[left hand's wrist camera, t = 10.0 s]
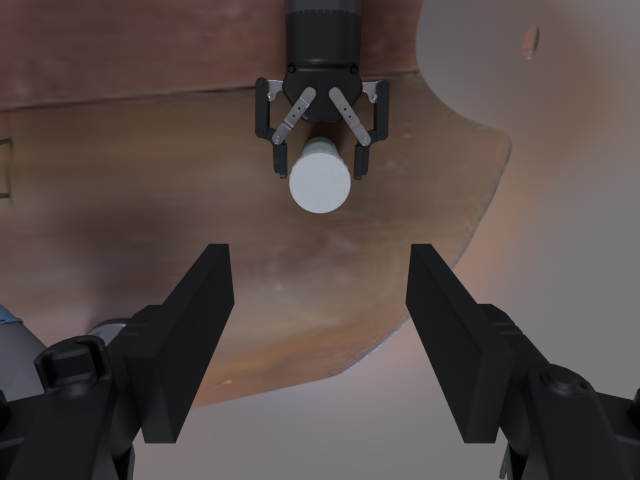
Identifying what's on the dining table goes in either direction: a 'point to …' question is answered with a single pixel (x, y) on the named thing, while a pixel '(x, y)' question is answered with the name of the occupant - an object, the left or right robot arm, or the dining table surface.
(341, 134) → the dining table surface
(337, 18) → the right robot arm
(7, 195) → the miniature windmill
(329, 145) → the green bottle
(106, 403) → the left robot arm
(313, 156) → the lid
